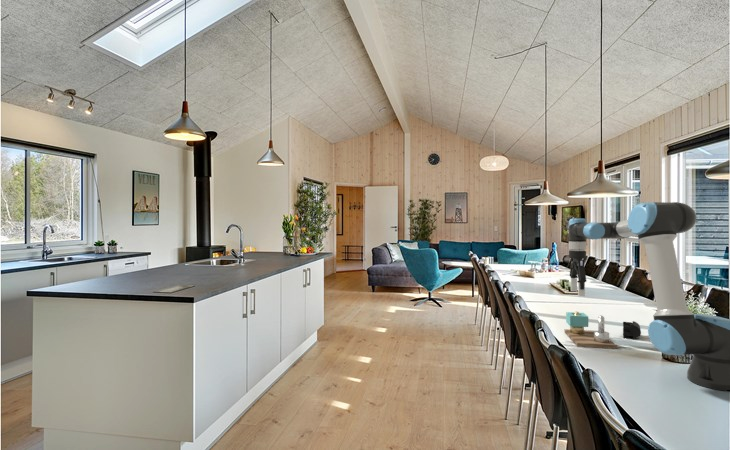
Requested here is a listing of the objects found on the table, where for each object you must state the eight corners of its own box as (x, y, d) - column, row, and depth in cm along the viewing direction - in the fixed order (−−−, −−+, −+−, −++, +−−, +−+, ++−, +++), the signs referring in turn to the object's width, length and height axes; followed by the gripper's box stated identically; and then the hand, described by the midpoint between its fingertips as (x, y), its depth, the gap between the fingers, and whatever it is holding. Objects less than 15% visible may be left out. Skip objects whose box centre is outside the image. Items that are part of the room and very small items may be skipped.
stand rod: (611, 343, 186) (610, 317, 186) (596, 342, 188) (596, 316, 187) (606, 339, 192) (606, 314, 192) (592, 338, 193) (592, 313, 193)
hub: (585, 334, 201) (585, 313, 200) (571, 334, 202) (571, 312, 202) (581, 331, 206) (581, 310, 206) (568, 330, 208) (568, 310, 208)
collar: (588, 327, 199) (588, 316, 199) (570, 326, 201) (570, 315, 201) (583, 322, 207) (583, 312, 207) (566, 322, 209) (566, 312, 209)
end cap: (641, 340, 195) (641, 326, 195) (623, 338, 199) (623, 324, 199) (640, 335, 204) (640, 321, 204) (623, 333, 208) (623, 320, 207)
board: (616, 348, 184) (616, 345, 184) (577, 346, 187) (577, 343, 187) (599, 333, 207) (599, 330, 207) (564, 332, 211) (564, 329, 211)
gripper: (593, 252, 190) (593, 298, 191) (578, 248, 215) (578, 289, 215) (575, 252, 192) (576, 298, 192) (563, 248, 216) (563, 289, 217)
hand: (577, 293), depth 204 cm, fingers open, 13 cm apart
